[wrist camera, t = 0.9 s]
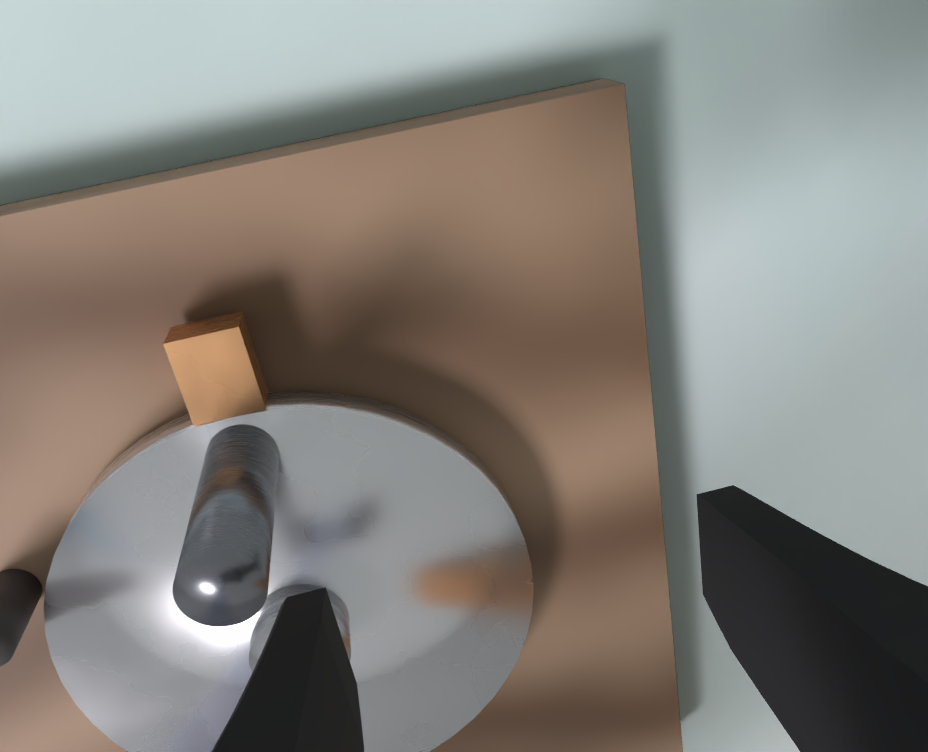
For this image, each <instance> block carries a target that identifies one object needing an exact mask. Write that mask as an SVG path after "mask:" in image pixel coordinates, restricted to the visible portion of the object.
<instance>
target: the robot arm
mask: <svg viewBox="0 0 928 752" xmlns="http://www.w3.org/2000/svg"><path fill="white" fill-rule="evenodd" d="M697 507H698V523H699V538H700V554H701V570H702V585H703V595H704V597H705V599H706V601H707V603H708V605H709V607H710V609H711V611H712V613H713V615H714V617H715V619H716V621H717V623H718V625H719V627H720V629H721V631H722V633H723V635H724V637H725V639H726V641H727V642H728V644H729V646H730V648H731V650H732V652H733V653H734V655H735V656H736V658H737V659H738V661H739V662H740V664H741V665H742V667H743V668H744V670H745V671H746V673H747V674H748V676H749V677H750V678H751V680H752V681H753V683H754V684H755V686H756V687H757V689H758V690H759V692H760V693H761V695H762V696H763V698H764V699H765V701H766V702H767V704H768V705H769V706H770V708H771V709H772V711H773V712H774V714H775V715H776V717H777V718H778V720H779V721H780V723H781V724H782V725H783V727H784V728H785V730H786V731H787V733H788V734H789V736H790V737H791V739H792V740H793V742H794V743H795V744H796V746H797V747H798V749H799V750H800V752H928V586H925V585H923V584H921V583H918V582H916V581H914V580H912V579H909V578H907V577H905V576H903V575H901V574H899V573H897V572H895V571H892V570H890V569H888V568H886V567H884V566H882V565H880V564H877V563H875V562H873V561H871V560H869V559H867V558H865V557H863V556H861V555H859V554H857V553H855V552H853V551H851V550H849V549H848V548H846V547H844V546H842V545H840V544H838V543H836V542H834V541H832V540H831V539H829V538H827V537H825V536H823V535H821V534H819V533H818V532H816V531H814V530H812V529H810V528H808V527H807V526H805V525H803V524H801V523H800V522H798V521H796V520H794V519H792V518H791V517H789V516H787V515H785V514H784V513H782V512H780V511H778V510H777V509H775V508H773V507H771V506H770V505H768V504H766V503H764V502H763V501H761V500H759V499H757V498H756V497H754V496H752V495H750V494H748V493H747V492H745V491H743V490H741V489H739V488H737V487H735V486H734V485H733V486H729V487H725V488H721V489H717V490H713V491H709V492H705V493H701V494H697ZM211 752H364V741H363V732H362V722H361V713H360V705H359V696H358V688H357V682H356V679H355V676H354V673H353V670H352V667H351V664H350V661H349V658H348V654H347V651H346V648H345V645H344V642H343V639H342V636H341V633H340V630H339V627H338V624H337V621H336V617H335V614H334V611H333V608H332V605H331V602H330V599H329V596H328V593H327V590H326V587H325V588H321V589H317V590H313V591H309V592H305V593H301V594H297V595H293V596H289V597H286V599H285V600H284V602H283V603H282V605H281V607H280V610H279V612H278V615H277V617H276V620H275V622H274V625H273V627H272V629H271V632H270V634H269V637H268V639H267V641H266V644H265V646H264V648H263V650H262V653H261V655H260V657H259V659H258V662H257V664H256V666H255V668H254V670H253V672H252V674H251V677H250V679H249V681H248V683H247V685H246V687H245V689H244V691H243V693H242V695H241V697H240V699H239V701H238V703H237V705H236V707H235V709H234V711H233V713H232V715H231V717H230V719H229V721H228V722H227V724H226V726H225V728H224V730H223V731H222V733H221V735H220V737H219V739H218V740H217V742H216V744H215V746H214V748H213V750H212V751H211Z"/></svg>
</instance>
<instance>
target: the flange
mask: <svg viewBox="0 0 928 752" xmlns="http://www.w3.org/2000/svg"><path fill="white" fill-rule="evenodd" d="M163 345H164V348H165V351H166V353H167V356H168V359H169V361H170V364H171V367H172V369H173V372H174V375H175V377H176V380H177V383H178V385H179V388H180V391H181V393H182V396H183V399H184V401H185V404H186V407H187V409H188V412H189V413H188V414H185V415H183V416H181V417H178V418H176V419H174V420H171V421H169V422H168V423H166V424H164V425H163V426H161V427H159V428H158V429H156V430H154V431H152V432H151V433H149V434H147V435H146V436H144V437H142V438H141V439H140V440H138V441H137V442H136V443H135V444H133V445H132V446H131V447H129V448H128V449H127V450H126V451H124V452H123V453H122V454H121V455H119V456H118V457H117V458H116V459H115V460H114V461H113V462H112V463H111V464H110V465H109V466H108V467H107V468H106V469H105V470H104V471H103V472H102V473H101V475H100V476H99V477H98V478H97V479H96V480H95V481H94V483H93V484H92V485H91V487H90V488H89V490H88V491H87V493H86V494H85V495H84V497H83V498H82V500H81V501H80V503H79V504H78V506H77V508H76V510H75V512H74V514H73V516H72V518H71V521H70V523H69V525H68V527H67V529H66V531H65V533H64V535H63V537H62V539H61V541H60V543H59V545H58V547H57V550H56V552H55V554H54V557H53V560H52V564H51V567H50V570H49V574H48V577H47V581H46V589H45V598H44V607H43V609H44V623H45V635H46V639H47V643H48V647H49V651H50V655H51V659H52V662H53V664H54V666H55V668H56V671H57V673H58V675H59V678H60V680H61V682H62V684H63V686H64V687H65V689H66V690H67V692H68V693H69V695H70V696H71V698H72V699H73V701H74V703H75V704H76V705H77V707H78V708H79V709H80V710H81V711H82V712H83V713H84V715H85V716H86V717H87V718H88V719H89V720H90V721H91V722H92V724H93V725H94V726H96V727H97V728H98V729H99V730H100V731H101V732H103V733H104V734H105V735H106V736H107V737H108V738H110V739H111V740H112V741H113V742H114V743H116V744H117V745H119V746H120V747H122V748H123V749H125V750H126V751H128V752H211V751H212V750H213V748H214V746H215V744H216V742H217V740H218V739H219V737H220V735H221V733H222V731H223V730H224V728H225V726H226V724H227V722H228V721H229V719H230V717H231V715H232V713H233V711H234V709H235V707H236V705H237V703H238V701H239V699H240V697H241V695H242V693H243V691H244V689H245V687H246V685H247V683H248V681H249V679H250V677H251V674H252V672H253V670H254V668H255V666H256V664H257V662H258V659H259V657H260V655H261V653H262V650H263V648H264V646H265V644H266V641H267V639H268V637H269V634H270V632H271V629H272V627H273V625H274V622H275V620H276V617H277V615H278V612H279V610H280V607H281V605H282V603H283V602H284V600H285V599H286V597H289V596H293V595H297V594H301V593H305V592H309V591H313V590H317V589H321V588H325V587H326V590H327V593H328V596H329V599H330V602H331V605H332V608H333V611H334V614H335V617H336V621H337V624H338V627H339V630H340V633H341V636H342V639H343V642H344V645H345V648H346V651H347V654H348V658H349V661H350V664H351V667H352V670H353V673H354V676H355V679H356V682H357V688H358V696H359V705H360V713H361V722H362V732H363V741H364V752H429V751H431V750H433V749H434V748H436V747H437V746H439V745H440V744H442V743H443V742H445V741H446V740H448V739H449V738H451V737H452V736H454V735H455V734H456V733H457V732H459V731H460V730H461V729H462V728H463V727H464V726H466V725H467V724H468V723H469V722H470V721H471V720H473V719H474V718H475V717H476V716H477V715H478V714H479V713H480V712H481V710H482V709H483V708H484V707H485V706H486V705H487V704H488V703H489V702H490V701H491V700H492V699H493V697H494V696H495V694H496V693H497V692H498V690H499V689H500V688H501V686H502V685H503V684H504V682H505V681H506V680H507V678H508V676H509V674H510V672H511V671H512V669H513V667H514V665H515V663H516V661H517V660H518V658H519V655H520V653H521V650H522V647H523V645H524V642H525V639H526V637H527V633H528V629H529V624H530V620H531V615H532V607H533V591H534V587H533V576H532V566H531V561H530V558H529V554H528V550H527V546H526V543H525V539H524V537H523V534H522V532H521V529H520V526H519V524H518V521H517V519H516V516H515V514H514V512H513V510H512V507H511V505H510V503H509V501H508V499H507V496H506V495H505V493H504V492H503V490H502V489H501V487H500V485H499V484H498V482H497V481H496V479H495V478H494V476H493V475H492V474H491V472H490V471H489V470H488V469H487V468H486V467H485V466H484V465H483V464H482V462H481V461H480V460H479V459H478V458H477V457H476V456H475V455H474V454H473V453H472V452H471V451H470V450H468V449H467V448H466V447H465V446H464V445H463V444H461V443H460V442H459V441H458V440H457V439H455V438H454V437H453V436H451V435H450V434H448V433H447V432H445V431H443V430H442V429H440V428H439V427H437V426H435V425H434V424H432V423H431V422H429V421H427V420H425V419H423V418H421V417H418V416H416V415H414V414H412V413H410V412H407V411H405V410H403V409H401V408H398V407H395V406H392V405H389V404H385V403H382V402H379V401H376V400H373V399H369V398H364V397H359V396H353V395H348V394H342V393H337V392H322V391H306V390H298V391H279V392H268V388H267V385H266V381H265V378H264V375H263V372H262V369H261V366H260V363H259V360H258V356H257V353H256V350H255V347H254V344H253V341H252V338H251V335H250V331H249V328H248V325H247V322H246V319H245V316H244V313H243V311H239V312H235V313H231V314H226V315H222V316H217V317H213V318H208V319H204V320H199V321H195V322H190V323H186V324H182V325H177V326H173V327H171V328H170V330H169V332H168V334H167V336H166V339H165V341H164V343H163Z"/></svg>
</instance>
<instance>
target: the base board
mask: <svg viewBox="0 0 928 752" xmlns="http://www.w3.org/2000/svg"><path fill="white" fill-rule="evenodd" d="M239 311H243V313H244V316H245V319H246V322H247V325H248V328H249V331H250V335H251V338H252V341H253V344H254V347H255V350H256V353H257V356H258V360H259V363H260V366H261V369H262V372H263V375H264V378H265V381H266V385H267V388H268V392H279V391H298V390H306V391H322V392H337V393H342V394H348V395H353V396H359V397H364V398H369V399H373V400H376V401H379V402H382V403H385V404H389V405H392V406H395V407H398V408H401V409H403V410H405V411H407V412H410V413H412V414H414V415H416V416H418V417H421V418H423V419H425V420H427V421H429V422H431V423H432V424H434V425H435V426H437V427H439V428H440V429H442V430H443V431H445V432H447V433H448V434H450V435H451V436H453V437H454V438H455V439H457V440H458V441H459V442H460V443H461V444H463V445H464V446H465V447H466V448H467V449H468V450H470V451H471V452H472V453H473V454H474V455H475V456H476V457H477V458H478V459H479V460H480V461H481V462H482V464H483V465H484V466H485V467H486V468H487V469H488V470H489V471H490V472H491V474H492V475H493V476H494V478H495V479H496V481H497V482H498V484H499V485H500V487H501V489H502V490H503V492H504V493H505V495H506V496H507V499H508V501H509V503H510V505H511V507H512V510H513V512H514V514H515V516H516V519H517V521H518V524H519V526H520V529H521V532H522V534H523V537H524V539H525V543H526V546H527V550H528V554H529V558H530V561H531V566H532V576H533V587H534V591H533V607H532V615H531V620H530V624H529V629H528V633H527V637H526V639H525V642H524V645H523V647H522V650H521V653H520V655H519V658H518V660H517V661H516V663H515V665H514V667H513V669H512V671H511V672H510V674H509V676H508V678H507V680H506V681H505V682H504V684H503V685H502V686H501V688H500V689H499V690H498V692H497V693H496V694H495V696H494V697H493V699H492V700H491V701H490V702H489V703H488V704H487V705H486V706H485V707H484V708H483V709H482V710H481V712H480V713H479V714H478V715H477V716H476V717H475V718H474V719H473V720H471V721H470V722H469V723H468V724H467V725H466V726H464V727H463V728H462V729H461V730H460V731H459V732H457V733H456V734H455V735H454V736H452V737H451V738H449V739H448V740H446V741H445V742H443V743H442V744H440V745H439V746H437V747H436V748H434V749H433V750H431V751H429V752H683V747H682V736H681V724H680V713H679V702H678V690H677V679H676V667H675V656H674V644H673V633H672V622H671V610H670V599H669V587H668V576H667V564H666V553H665V542H664V530H663V519H662V507H661V496H660V484H659V473H658V462H657V450H656V439H655V427H654V416H653V404H652V393H651V382H650V370H649V359H648V347H647V336H646V324H645V313H644V302H643V290H642V279H641V267H640V256H639V244H638V233H637V222H636V210H635V199H634V187H633V176H632V164H631V153H630V142H629V130H628V119H627V107H626V96H625V84H622V83H618V82H614V81H611V80H607V79H598V80H593V81H588V82H584V83H579V84H574V85H569V86H565V87H560V88H555V89H550V90H546V91H541V92H536V93H531V94H527V95H522V96H517V97H512V98H508V99H503V100H498V101H494V102H489V103H484V104H479V105H475V106H470V107H465V108H460V109H456V110H451V111H446V112H441V113H437V114H432V115H427V116H422V117H418V118H413V119H408V120H404V121H399V122H394V123H389V124H385V125H380V126H375V127H370V128H366V129H361V130H356V131H351V132H347V133H342V134H337V135H332V136H328V137H323V138H318V139H313V140H309V141H304V142H299V143H295V144H290V145H285V146H280V147H276V148H271V149H266V150H261V151H257V152H252V153H247V154H242V155H238V156H233V157H228V158H223V159H219V160H214V161H209V162H205V163H200V164H195V165H190V166H186V167H181V168H176V169H171V170H167V171H162V172H157V173H152V174H148V175H143V176H138V177H133V178H129V179H124V180H119V181H114V182H110V183H105V184H100V185H96V186H91V187H86V188H81V189H77V190H72V191H67V192H62V193H58V194H53V195H48V196H43V197H39V198H34V199H29V200H24V201H20V202H15V203H10V204H6V205H1V206H0V752H128V751H126V750H125V749H123V748H122V747H120V746H119V745H117V744H116V743H114V742H113V741H112V740H111V739H110V738H108V737H107V736H106V735H105V734H104V733H103V732H101V731H100V730H99V729H98V728H97V727H96V726H94V725H93V724H92V722H91V721H90V720H89V719H88V718H87V717H86V716H85V715H84V713H83V712H82V711H81V710H80V709H79V708H78V707H77V705H76V704H75V703H74V701H73V699H72V698H71V696H70V695H69V693H68V692H67V690H66V689H65V687H64V686H63V684H62V682H61V680H60V678H59V675H58V673H57V671H56V668H55V666H54V664H53V662H52V659H51V655H50V651H49V647H48V643H47V639H46V635H45V623H44V609H43V607H44V598H45V589H46V581H47V577H48V574H49V570H50V567H51V564H52V560H53V557H54V554H55V552H56V550H57V547H58V545H59V543H60V541H61V539H62V537H63V535H64V533H65V531H66V529H67V527H68V525H69V523H70V521H71V518H72V516H73V514H74V512H75V510H76V508H77V506H78V504H79V503H80V501H81V500H82V498H83V497H84V495H85V494H86V493H87V491H88V490H89V488H90V487H91V485H92V484H93V483H94V481H95V480H96V479H97V478H98V477H99V476H100V475H101V473H102V472H103V471H104V470H105V469H106V468H107V467H108V466H109V465H110V464H111V463H112V462H113V461H114V460H115V459H116V458H117V457H118V456H119V455H121V454H122V453H123V452H124V451H126V450H127V449H128V448H129V447H131V446H132V445H133V444H135V443H136V442H137V441H138V440H140V439H141V438H142V437H144V436H146V435H147V434H149V433H151V432H152V431H154V430H156V429H158V428H159V427H161V426H163V425H164V424H166V423H168V422H169V421H171V420H174V419H176V418H178V417H181V416H183V415H185V414H188V413H189V412H188V409H187V407H186V404H185V401H184V399H183V396H182V393H181V391H180V388H179V385H178V383H177V380H176V377H175V375H174V372H173V369H172V367H171V364H170V361H169V359H168V356H167V353H166V351H165V348H164V345H163V343H164V341H165V339H166V336H167V334H168V332H169V330H170V328H171V327H173V326H177V325H182V324H186V323H190V322H195V321H199V320H204V319H208V318H213V317H217V316H222V315H226V314H231V313H235V312H239Z"/></svg>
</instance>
